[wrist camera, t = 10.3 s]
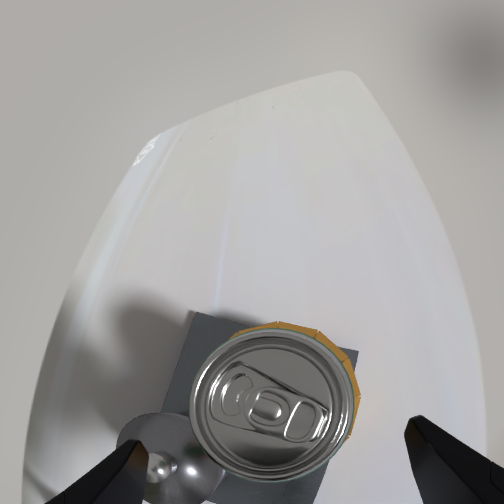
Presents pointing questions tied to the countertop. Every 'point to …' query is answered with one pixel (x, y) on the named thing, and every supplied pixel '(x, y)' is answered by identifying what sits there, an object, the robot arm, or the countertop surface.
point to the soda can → (271, 405)
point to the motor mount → (186, 446)
